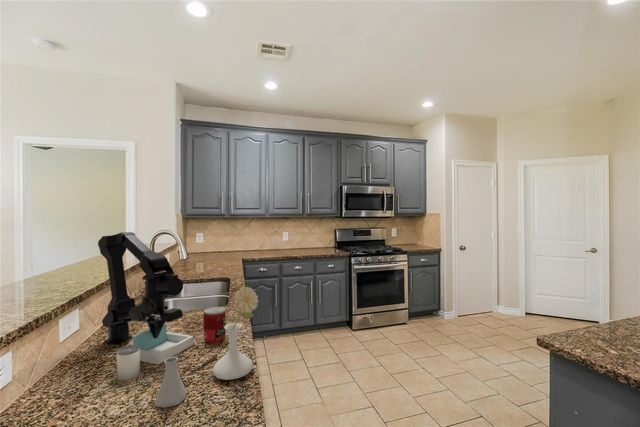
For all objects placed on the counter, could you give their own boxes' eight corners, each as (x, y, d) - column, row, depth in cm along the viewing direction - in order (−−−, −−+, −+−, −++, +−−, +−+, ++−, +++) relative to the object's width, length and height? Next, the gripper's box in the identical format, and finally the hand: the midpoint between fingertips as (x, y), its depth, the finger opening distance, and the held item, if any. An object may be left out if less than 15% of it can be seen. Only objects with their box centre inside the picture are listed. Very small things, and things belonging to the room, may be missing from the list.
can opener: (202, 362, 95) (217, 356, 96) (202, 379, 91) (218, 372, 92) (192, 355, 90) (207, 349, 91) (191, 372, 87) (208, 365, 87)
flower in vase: (215, 388, 78) (215, 294, 78) (210, 369, 88) (210, 286, 89) (263, 376, 84) (263, 288, 85) (253, 359, 94) (252, 281, 95)
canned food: (218, 344, 106) (218, 313, 106) (199, 342, 107) (199, 312, 108) (229, 335, 113) (229, 307, 113) (210, 334, 115) (210, 306, 115)
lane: (118, 356, 97) (118, 347, 97) (157, 338, 111) (157, 330, 111) (158, 364, 91) (158, 354, 91) (193, 344, 106) (193, 336, 106)
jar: (112, 378, 83) (112, 351, 84) (130, 369, 89) (130, 343, 89) (126, 382, 82) (126, 354, 82) (144, 372, 87) (144, 346, 87)
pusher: (132, 354, 97) (133, 336, 97) (164, 339, 108) (164, 323, 108) (135, 355, 96) (135, 336, 96) (166, 340, 108) (166, 323, 108)
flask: (162, 391, 77) (162, 353, 77) (191, 390, 78) (191, 352, 78) (148, 409, 70) (149, 367, 70) (180, 408, 70) (180, 366, 70)
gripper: (113, 296, 97) (113, 344, 97) (156, 301, 91) (156, 351, 91) (143, 289, 108) (143, 331, 107) (183, 292, 102) (183, 337, 101)
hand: (155, 338), depth 102 cm, fingers closed
